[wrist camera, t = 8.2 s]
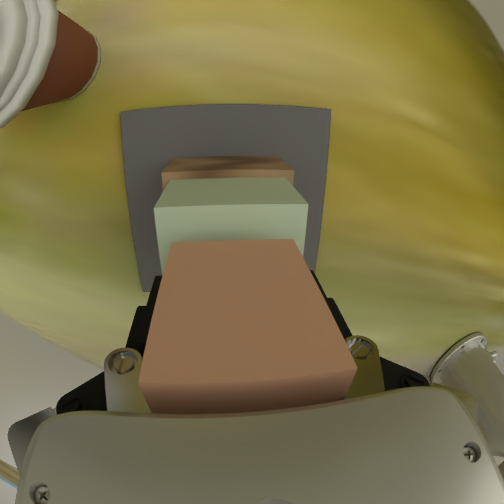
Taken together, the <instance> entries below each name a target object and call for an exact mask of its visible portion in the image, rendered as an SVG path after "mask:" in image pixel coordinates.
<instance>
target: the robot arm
mask: <svg viewBox="0 0 504 504" xmlns="http://www.w3.org/2000/svg"><path fill="white" fill-rule="evenodd" d="M310 272H311V274H312V276H313V278H314V279H315V281H316V283H317V285H318V287H319V289H320V291H321V293H322V295H323V297H324V299H325V301H326V303H327V305H328V307H329V309H330V311H331V313H332V315H333V317H334V319H335V321H336V324H337V326H338V328H339V330H340V332H341V334H342V336H343V338H344V340H345V342H346V344H347V346H348V348H349V351H350V353H351V355H352V357H353V359H354V361H355V363H356V365H357V371H356V373H355V376H354V378H353V381H352V383H351V385H350V388H349V390H348V393H347V395H346V396H344V397H343V399H342V400H340V401H334V402H328V403H322V404H316V405H309V406H302V407H294V408H286V409H277V410H268V411H256V412H243V413H224V414H154V413H153V411H152V410H150V409H149V407H148V404H147V402H146V400H145V397H144V395H143V393H142V390H141V388H140V386H139V383H138V381H139V376H140V371H141V366H142V361H143V356H144V351H145V347H146V342H147V337H148V333H149V328H150V324H151V320H152V316H153V311H154V307H155V303H156V299H157V295H158V291H159V287H160V283H161V280H162V276H163V275H161V276H155V278H154V282H153V285H152V288H151V292H150V295H149V299H148V302H147V306H138V307H137V310H136V313H135V316H134V320H133V323H132V326H131V330H130V333H129V337H128V340H127V344H126V347H125V348H120V349H116V350H114V351H112V352H111V353H110V354H109V355H108V356H107V357H106V359H105V362H104V372H102V373H100V374H99V375H97V376H95V377H94V378H92V379H90V380H89V381H87V382H85V383H84V384H82V385H81V386H79V387H77V388H75V389H74V390H72V391H70V392H69V393H67V394H65V395H64V396H63V397H61V398H60V400H59V401H58V403H57V406H56V408H54V409H52V408H51V407H49V408H47V409H45V410H42V411H40V412H38V413H36V414H33V415H31V416H29V417H27V418H24V419H22V420H20V421H18V422H15V423H14V424H13V425H11V427H10V428H9V431H8V441H9V444H10V447H11V451H12V454H13V457H14V459H15V463H16V465H17V468H18V471H19V474H20V478H19V483H18V488H17V495H16V500H15V504H504V461H503V462H502V463H501V464H500V465H499V466H497V463H496V461H495V459H494V457H493V456H499V457H504V375H503V374H502V372H501V371H500V370H499V368H498V367H497V366H496V364H495V359H494V358H496V357H497V352H496V351H493V352H490V353H489V352H488V350H487V349H486V344H487V339H486V337H485V336H484V335H483V334H482V333H474V334H471V335H469V336H467V337H465V338H464V339H462V340H461V341H459V342H458V343H457V344H455V345H454V346H453V347H452V348H451V349H450V350H449V351H448V352H447V353H446V354H445V355H444V356H443V357H442V358H441V359H440V360H439V362H438V363H437V364H436V366H435V368H434V369H433V371H432V374H431V382H432V385H430V384H429V383H428V381H427V379H426V378H425V377H424V376H423V375H421V374H419V373H417V372H415V371H413V370H410V369H408V368H405V367H403V366H401V365H398V364H396V363H393V362H391V361H389V360H386V359H384V358H382V357H379V351H378V348H377V345H376V344H375V343H374V342H373V341H372V340H371V339H369V338H367V337H364V336H359V335H357V336H352V334H351V332H350V330H349V328H348V326H347V324H346V322H345V320H344V318H343V316H342V315H341V313H340V311H339V309H338V307H337V305H336V303H335V301H334V300H333V298H327V297H326V295H325V293H324V291H323V289H322V287H321V285H320V283H319V281H318V279H317V277H316V275H315V274H314V272H313V270H310Z"/></svg>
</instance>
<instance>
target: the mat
mask: <svg viewBox="0 0 504 504" xmlns="http://www.w3.org/2000/svg"><path fill="white" fill-rule="evenodd" d="M330 120H331V109H322V108H311V107H299V106H283V105H259V104H212V105H188V106H173V107H160V108H150V109H141V110H132V111H125V112H121V131H122V147H123V160H124V172H125V182H126V191H127V199H128V207H129V215H130V222H131V229H132V235H133V241H134V247H135V253H136V259H137V264H138V270H139V275H140V280H141V285H142V290H143V292H151V288H152V285H153V282H154V278H155V276H161V275H162V270H161V263H160V256H159V249H158V241H157V233H156V225H155V216H154V206H155V205H156V203H157V201H158V199H159V198H160V196H161V194H162V193H163V187H162V171H163V170H164V169H165V168H166V166H167V165H168V164H169V163H170V162H171V160H172V159H173V158H186V157H210V156H279V157H280V158H281V159H282V160H283V161H285V162H286V163H287V164H288V165H289V166H290V167H291V168H292V169H294V181H293V187H294V188H295V189H296V190H297V191H298V192H299V194H300V195H301V196H302V197H303V198H304V199H305V201H306V202H307V203H308V214H307V225H306V234H305V244H304V253H303V258H304V260H305V262H306V264H307V266H308V268H309V270H313V272H314V274H315V267H316V260H317V253H318V245H319V237H320V229H321V221H322V212H323V203H324V194H325V184H326V173H327V161H328V149H329V135H330Z"/></svg>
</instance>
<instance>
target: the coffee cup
mask: <svg viewBox="0 0 504 504" xmlns="http://www.w3.org/2000/svg"><path fill="white" fill-rule="evenodd" d="M100 62H101V48H100V45H99V43H98V40H97V38H96V37H95V36H94V35H93V34H91V33H90V32H89V31H87V30H85V29H84V28H82V27H81V26H79V25H78V24H77V23H75V22H74V21H72V20H71V19H70V18H68V17H67V16H65V15H64V14H62V13H61V12H59V11H58V10H57V7H56V4H55V1H54V0H0V128H2V127H5V126H6V125H7V124H8V123H9V122H10V121H11V120H12V119H13V118H14V117H15V116H16V115H17V114H18V113H19V112H21V111H24V110H27V109H31V108H34V107H38V106H42V105H46V104H50V103H54V102H61V101H65V100H69V99H73V98H75V97H76V96H77V95H79V94H80V93H82V92H83V91H85V90H86V88H87V87H88V86H89V85H90V83H91V82H92V81H93V79H94V78H95V76H96V73H97V71H98V68H99V66H100Z"/></svg>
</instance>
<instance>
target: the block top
mask: <svg viewBox="0 0 504 504" xmlns="http://www.w3.org/2000/svg"><path fill="white" fill-rule="evenodd" d="M307 214H308V203H307V202H306V201H305V199H304V198H303V197H302V196H301V195H300V194H299V192H298V191H297V190H296V189H295V188H294V187H293V186H292V184H291V183H290V182H289V181H288V180H287V179H286V178H208V179H183V180H170V181H169V183H168V184H167V186H166V188H165V189H164V191H163V193H162V194H161V196H160V198H159V199H158V201H157V203H156V205H155V206H154V216H155V225H156V233H157V241H158V249H159V256H160V263H161V270H162V275H163V272H164V268H165V265H166V261H167V258H168V254H169V250H170V247H171V244H172V242H195V241H226V240H259V239H294V241H295V243H296V245H297V247H298V249H299V250H300V252H301V254H302V256H303V253H304V244H305V234H306V225H307Z"/></svg>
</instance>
